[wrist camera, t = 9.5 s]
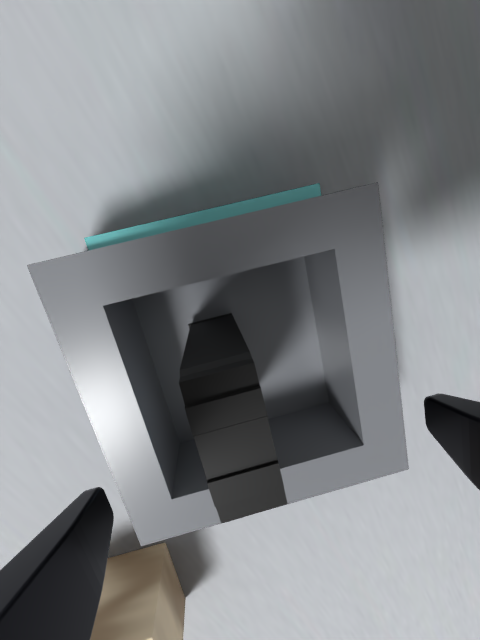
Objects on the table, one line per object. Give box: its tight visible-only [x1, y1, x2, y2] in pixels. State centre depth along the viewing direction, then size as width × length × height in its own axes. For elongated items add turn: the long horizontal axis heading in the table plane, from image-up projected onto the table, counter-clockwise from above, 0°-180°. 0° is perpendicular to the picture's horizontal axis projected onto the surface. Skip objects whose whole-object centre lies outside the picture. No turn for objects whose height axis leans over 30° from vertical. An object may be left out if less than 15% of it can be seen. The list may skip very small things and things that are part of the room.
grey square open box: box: [27, 182, 409, 546], centre depth 15 cm, size 13×14×4 cm
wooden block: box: [90, 543, 185, 640], centre depth 17 cm, size 5×5×5 cm
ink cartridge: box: [179, 313, 288, 523], centre depth 12 cm, size 5×2×8 cm, turn 13°
